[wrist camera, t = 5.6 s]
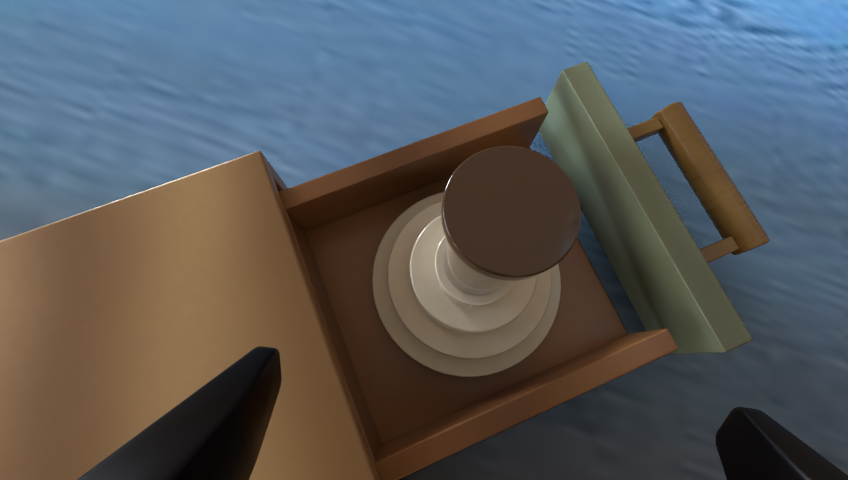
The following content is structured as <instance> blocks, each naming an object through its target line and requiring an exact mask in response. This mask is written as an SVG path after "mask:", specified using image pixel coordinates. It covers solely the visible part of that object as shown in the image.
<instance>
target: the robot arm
mask: <svg viewBox="0 0 848 480" xmlns="http://www.w3.org/2000/svg"><path fill="white" fill-rule="evenodd" d="M281 381H282V375H281V364H280V353H279V351H278V349H276V348H271V347H263V346H258V347H255V348H254V349H252V350H251V351H250V352H248V353H247V354H246V355H244V356H243V357H242V358H240V359H239V360H237V361H236V362H235V363H233V364H232V365H231V366H229V367H228V368H227V369H225V370H224V371H223V372H221V373H220V374H219V375H217V376H216V377H215V378H213V379H212V380H210V381H209V382H208V383H206V384H205V385H204V386H202V387H201V388H200V389H198V390H197V391H196V392H194V393H193V394H192V395H190V396H189V397H188V398H186V399H185V400H184V401H182V402H181V403H179V404H178V405H177V406H175V407H174V408H173V409H171V410H170V411H169V412H167V413H166V414H165V415H163V416H162V417H161V418H159V419H158V420H157V421H155V422H154V423H152V424H151V425H150V426H148V427H147V428H146V429H144V430H143V431H142V432H140V433H139V434H138V435H136V436H135V437H134V438H132V439H131V440H130V441H128V442H127V443H125V444H124V445H123V446H121V447H120V448H119V449H117V450H116V451H115V452H113V453H112V454H111V455H109V456H108V457H107V458H105V459H104V460H103V461H101V462H100V463H98V464H97V465H96V466H94V467H93V468H92V469H90V470H89V471H88V472H86V473H85V474H84V475H82V476H81V477H80V478H78V479H77V480H249V478H250V476H251V474H252V471H253V469H254V466H255V464H256V461H257V458H258V455H259V452H260V449H261V446H262V443H263V440H264V437H265V434H266V431H267V428H268V425H269V421H270V418H271V415H272V412H273V409H274V406H275V403H276V400H277V397H278V394H279V391H280V387H281ZM716 446H717V450H718V453H719V456H720V459H721V462H722V465H723V469H724V472H725V475H726V478H727V480H848V475H846V474H845V473H844V472H842V471H841V470H840V469H838V468H837V467H836V466H834V465H833V464H832V463H830V462H829V461H828V460H826V459H825V458H824V457H822V456H821V455H820V454H818V453H817V452H816V451H814V450H813V449H812V448H810V447H809V446H808V445H806V444H805V443H804V442H802V441H801V440H800V439H798V438H797V437H796V436H794V435H793V434H792V433H790V432H789V431H788V430H786V429H785V428H784V427H782V426H781V425H780V424H778V423H777V422H776V421H774V420H773V419H772V418H770V417H769V416H768V415H766V414H765V413H764V412H762V411H760V410H757V409H752V408H744V407H736V408H734V409H733V410H732V411H731V412H730V414H729V415H728V417H727V418H726V420H725V421H724V422H723V424H722V425H721V427H720V428H719V430H718V431H717V434H716Z"/></svg>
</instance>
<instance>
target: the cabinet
mask: <svg viewBox="0 0 848 480" xmlns="http://www.w3.org/2000/svg"><path fill="white" fill-rule="evenodd" d="M286 189H288V188H287V186H286V185H285V184H284V182H283V181H282V180H281V178H280V177H279V175H278V174H277V173H276V171H275V170H274V169H273V167H272V166H271V165H270V163H269V162H268V161H267V159H266V158H265V156H264V155H263V154H262V152H261V151H256V152H253V153H251V154H248V155H245V156H242V157H239V158H236V159H233V160H231V161H228V162H225V163H222V164H219V165H216V166H213V167H211V168H208V169H205V170H202V171H199V172H196V173H193V174H191V175H188V176H185V177H182V178H179V179H176V180H173V181H171V182H168V183H165V184H162V185H159V186H156V187H153V188H151V189H148V190H145V191H142V192H139V193H136V194H134V195H131V196H128V197H125V198H122V199H119V200H116V201H114V202H111V203H108V204H105V205H102V206H99V207H96V208H94V209H91V210H88V211H85V212H82V213H79V214H76V215H74V216H71V217H68V218H65V219H62V220H59V221H56V222H54V223H51V224H48V225H45V226H42V227H39V228H36V229H34V230H31V231H28V232H25V233H22V234H19V235H16V236H14V237H11V238H8V239H5V240H2V241H0V480H77V479H78V478H80V477H81V476H82V475H84V474H85V473H86V472H88V471H89V470H90V469H92V468H93V467H94V466H96V465H97V464H98V463H100V462H101V461H103V460H104V459H105V458H107V457H108V456H109V455H111V454H112V453H113V452H115V451H116V450H117V449H119V448H120V447H121V446H123V445H124V444H125V443H127V442H128V441H130V440H131V439H132V438H134V437H135V436H136V435H138V434H139V433H140V432H142V431H143V430H144V429H146V428H147V427H148V426H150V425H151V424H152V423H154V422H155V421H157V420H158V419H159V418H161V417H162V416H163V415H165V414H166V413H167V412H169V411H170V410H171V409H173V408H174V407H175V406H177V405H178V404H179V403H181V402H182V401H184V400H185V399H186V398H188V397H189V396H190V395H192V394H193V393H194V392H196V391H197V390H198V389H200V388H201V387H202V386H204V385H205V384H206V383H208V382H209V381H210V380H212V379H213V378H215V377H216V376H217V375H219V374H220V373H221V372H223V371H224V370H225V369H227V368H228V367H229V366H231V365H232V364H233V363H235V362H236V361H237V360H239V359H240V358H242V357H243V356H244V355H246V354H247V353H248V352H250V351H251V350H252V349H254V348H255V347H258V346H263V347H271V348H276V349H278V351H279V353H280V364H281V375H282V381H281V387H280V391H279V394H278V397H277V400H276V403H275V406H274V409H273V412H272V415H271V418H270V421H269V425H268V428H267V431H266V434H265V437H264V440H263V443H262V446H261V449H260V452H259V455H258V458H257V461H256V464H255V466H254V469H253V471H252V474H251V476H250V478H249V480H380V479H379V476H378V473H377V471H376V468H375V465H374V462H373V459H372V456H371V454H370V451H369V448H368V445H367V442H366V439H365V437H364V434H363V431H362V428H361V425H360V422H359V420H358V417H357V414H356V411H355V408H354V405H353V402H352V400H351V397H350V394H349V391H348V388H347V385H346V383H345V380H344V377H343V374H342V371H341V368H340V366H339V363H338V360H337V357H336V354H335V351H334V349H333V346H332V343H331V340H330V337H329V334H328V331H327V329H326V326H325V323H324V320H323V317H322V314H321V312H320V309H319V306H318V303H317V300H316V297H315V295H314V292H313V289H312V286H311V283H310V280H309V278H308V275H307V272H306V269H305V266H304V263H303V260H302V258H301V255H300V252H299V249H298V246H297V243H296V241H295V238H294V235H293V232H292V229H291V226H290V224H289V221H288V218H287V215H286V212H285V209H284V207H283V204H282V201H281V198H280V195H279V192H281V191H283V190H286ZM399 480H401V479H399Z"/></svg>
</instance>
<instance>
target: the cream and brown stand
mask: <svg viewBox="0 0 848 480" xmlns="http://www.w3.org/2000/svg"><path fill="white" fill-rule="evenodd" d="M580 225H581V207H580V202H579V198H578V195H577V192H576V189H575V187H574V185H573V183H572V182H571V180H570V179H569V177H568V176H567V174H566V173H565V172H564V171H563V170H562V169H561V168H560V167H559V166H558V165H557V164H556V163H555V162H553V161H552V160H551V159H549V158H548V157H546V156H544V155H542V154H541V153H539V152H536V151H534V150H531V149H527V148H524V147H518V146H497V147H492V148H488V149H485V150H482V151H480V152H478V153H476V154H474V155H472V156H470V157H469V158H467V159H466V160H465V161H464V162H463V163H461V164H460V165H459V166H458V167H457V169H456V170H455V171H454V172H453V174H452V175H451V177H450V179H449V181H448V183H447V185H446V188H445V191H444V192H442V193H438V194H435V195H432V196H429V197H427V198H425V199H423V200H421V201H419V202H417V203H415V204H414V205H412V206H411V207H409V208H408V209H406V210H405V211H404V212H403V213H402V214H401V215H400V216H398V218H397V219H396V220H395V221H394V222H393V223H392V224H391V226H390V227H389V229H388V230H387V232H386V233H385V235H384V236H383V238H382V240H381V242H380V244H379V247H378V250H377V253H376V256H375V260H374V265H373V272H372V289H373V297H374V302H375V306H376V309H377V312H378V315H379V318H380V320H381V322H382V324H383V326H384V328H385V329H386V331H387V332H388V334H389V335H390V337H391V338H392V340H393V341H394V342H395V343H396V344H397V345H398V346H399V347H400V349H401V350H402V351H404V352H405V353H406V354H407V355H408V356H410V357H411V358H412V359H414V360H415V361H417V362H418V363H420V364H421V365H423V366H425V367H428V368H430V369H432V370H434V371H437V372H440V373H443V374H447V375H452V376H458V377H480V376H487V375H491V374H495V373H499V372H501V371H504V370H506V369H509V368H511V367H513V366H514V365H516V364H518V363H520V362H521V361H523V360H524V359H525V358H527V357H528V356H529V355H530V354H532V353H533V351H534V350H535V349H536V348H537V347H538V346H539V345H540V344H541V343H542V341H543V340H544V339H545V337H546V336H547V334H548V332H549V331H550V329H551V327H552V325H553V323H554V320H555V317H556V315H557V312H558V307H559V303H560V295H561V277H560V270H559V265H558V263H559V262H561V261H562V260H563V259H564V257H565V256H566V255H567V254H568V253H569V251H570V250H571V249H572V247H573V245H574V243H575V241H576V239H577V236H578V234H579V229H580Z"/></svg>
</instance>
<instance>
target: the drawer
mask: <svg viewBox="0 0 848 480" xmlns="http://www.w3.org/2000/svg"><path fill="white" fill-rule="evenodd" d="M538 131H539V132H540V134H541V136H542V138H543V139H544V141H545V143H546V145H547V147H548V149H549V151H550V153H551V154H552V156H553V158H554V160H555V162H556V164H557V165H558V166H559V167H560V168H561V169H562V170H563V171H564V172H565V173H566V174H567V176H568V177H569V179H570V180H571V182H572V183H573V185H574V187H575V189H576V192H577V195H578V198H579V202H580V207H581V210H582V212H583V214H584V216H585V218H586V219H587V221H588V223H589V225H590V227H591V229H592V231H593V232H594V234H595V236H596V238H597V240H598V242H599V244H600V245H601V247H602V249H603V251H604V253H605V255H606V257H607V258H608V260H609V262H610V264H611V266H612V268H613V270H614V271H615V273H616V275H617V277H618V279H619V281H620V283H621V284H622V286H623V288H624V290H625V292H626V294H627V296H628V297H629V299H630V301H631V303H632V305H633V307H634V309H635V310H636V312H637V314H638V316H639V318H640V320H641V322H642V323H643V325H644V327H645V329H646V331H643V332H635V333H627V331H626V329H625V327H624V325H623V323H622V321H621V320H620V318H619V316H618V314H617V312H616V310H615V308H614V306H613V304H612V302H611V301H610V299H609V297H608V295H607V293H606V291H605V289H604V287H603V285H602V283H601V282H600V280H599V278H598V276H597V274H596V272H595V270H594V268H593V266H592V264H591V263H590V261H589V259H588V257H587V255H586V253H585V251H584V249H583V247H582V245H581V244H580V242H579V240H578V238H577V239H576V241H575V243H574V245H573V247H572V249H571V250H570V251H569V253H568V254H567V255H566V256H565V257H564V259H563V260H562V261H561V262H559V263H558V265H559V270H560V277H561V295H560V303H559V307H558V312H557V315H556V317H555V320H554V323H553V325H552V327H551V329H550V331H549V332H548V334H547V336H546V337H545V339H544V340H543V341H542V343H541V344H540V345H539V346H538V347H537V348H536V349H535V350H534V351H533V353H532V354H530V355H529V356H528V357H527V358H525V359H524V360H523V361H521V362H520V363H518V364H516V365H514V366H513V367H511V368H509V369H506V370H504V371H501V372H499V373H495V374H491V375H487V376H480V377H458V376H452V375H447V374H443V373H440V372H437V371H434V370H432V369H430V368H428V367H425V366H423V365H421V364H420V363H418V362H417V361H415V360H414V359H412V358H411V357H410V356H408V355H407V354H406V353H405V352H404V351H402V350H401V349H400V347H399V346H398V345H397V344H396V343H395V342H394V341H393V340H392V338H391V337H390V335H389V334H388V332H387V331H386V329H385V328H384V326H383V324H382V322H381V320H380V318H379V315H378V312H377V309H376V306H375V302H374V297H373V289H372V272H373V265H374V260H375V256H376V253H377V250H378V247H379V244H380V242H381V240H382V238H383V236H384V235H385V233H386V232H387V230H388V229H389V227H390V226H391V224H392V223H393V222H394V221H395V220H396V219H397V218H398V216H400V215H401V214H402V213H403V212H404V211H405V210H406V209H408V208H409V207H411V206H412V205H414V204H415V203H417V202H419V201H421V200H423V199H425V198H427V197H429V196H432V195H435V194H438V193H442V192H444V191H445V188H446V185H447V183H448V181H449V179H450V177H451V175H452V174H453V172H454V171H455V170H456V169H457V167H458V166H459V165H460V164H461V163H463V162H464V161H465V160H466V159H467V158H469V157H470V156H472V155H474V154H476V153H478V152H480V151H482V150H485V149H488V148H492V147H497V146H518V147H524V148H527V149H530V145H531V144H532V142H533V140H534V138H535V136H536V134H537V133H538ZM657 133H658V134H659V136H660V138H661V139H662V141H663V142H664V144H665V146H666V147H667V149H668V151H669V152H670V154H671V155H672V157H673V159H674V160H675V162H676V164H677V165H678V167H679V168H680V170H681V172H682V173H683V175H684V176H685V178H686V180H687V181H688V183H689V185H690V186H691V188H692V189H693V191H694V193H695V194H696V196H697V198H698V199H699V201H700V202H701V204H702V206H703V207H704V209H705V211H706V212H707V214H708V215H709V217H710V219H711V220H712V222H713V224H714V225H715V227H716V228H717V230H718V232H719V233H720V235H721V237H722V238H723V239H722V240H720V241H718V242H715V243H713V244H711V245H709V246H706V247H704V248H702V249H699V248H698V246H697V245H696V243H695V241H694V240H693V238H692V236H691V235H690V233H689V231H688V230H687V228H686V226H685V225H684V223H683V221H682V220H681V218H680V216H679V215H678V213H677V211H676V210H675V208H674V206H673V204H672V203H671V201H670V199H669V198H668V196H667V194H666V193H665V191H664V189H663V188H662V186H661V184H660V183H659V181H658V179H657V178H656V176H655V174H654V173H653V171H652V169H651V168H650V166H649V164H648V163H647V161H646V159H645V158H644V156H643V154H642V153H641V151H640V149H639V148H638V146H637V144H636V143H635V142H637V141H640V140H642V139H645V138H647V137H650V136H652V135H655V134H657ZM279 195H280V198H281V201H282V204H283V207H284V209H285V212H286V215H287V218H288V221H289V224H290V226H291V229H292V232H293V235H294V238H295V241H296V243H297V246H298V249H299V252H300V255H301V258H302V260H303V263H304V266H305V269H306V272H307V275H308V278H309V280H310V283H311V286H312V289H313V292H314V295H315V297H316V300H317V303H318V306H319V309H320V312H321V314H322V317H323V320H324V323H325V326H326V329H327V331H328V334H329V337H330V340H331V343H332V346H333V349H334V351H335V354H336V357H337V360H338V363H339V366H340V368H341V371H342V374H343V377H344V380H345V383H346V385H347V388H348V391H349V394H350V397H351V400H352V402H353V405H354V408H355V411H356V414H357V417H358V420H359V422H360V425H361V428H362V431H363V434H364V437H365V439H366V442H367V445H368V448H369V451H370V454H371V456H372V459H373V462H374V465H375V468H376V471H377V473H378V476H379V479H380V480H399V479H401V478H403V477H405V476H407V475H410V474H412V473H414V472H416V471H418V470H420V469H422V468H425V467H427V466H429V465H431V464H433V463H435V462H437V461H440V460H442V459H444V458H446V457H448V456H450V455H452V454H455V453H457V452H459V451H461V450H463V449H465V448H467V447H470V446H472V445H474V444H476V443H478V442H480V441H483V440H485V439H487V438H489V437H491V436H493V435H495V434H498V433H500V432H502V431H504V430H506V429H508V428H510V427H513V426H515V425H517V424H519V423H521V422H523V421H525V420H528V419H530V418H532V417H534V416H536V415H538V414H540V413H543V412H545V411H547V410H549V409H551V408H553V407H555V406H558V405H560V404H562V403H564V402H566V401H568V400H571V399H573V398H575V397H577V396H579V395H581V394H583V393H586V392H588V391H590V390H592V389H594V388H596V387H598V386H601V385H603V384H605V383H607V382H609V381H611V380H613V379H616V378H618V377H620V376H622V375H624V374H626V373H628V372H631V371H633V370H635V369H637V368H639V367H641V366H644V365H646V364H648V363H650V362H652V361H654V360H656V359H659V358H661V357H663V356H665V355H667V354H686V353H726V352H728V351H730V350H732V349H734V348H737V347H739V346H741V345H743V344H745V343H747V342H749V341H751V340H752V337H751V335H750V333H749V332H748V330H747V328H746V327H745V325H744V323H743V322H742V320H741V318H740V317H739V315H738V313H737V312H736V310H735V308H734V307H733V305H732V303H731V302H730V300H729V298H728V297H727V295H726V293H725V292H724V290H723V288H722V287H721V285H720V283H719V282H718V280H717V278H716V276H715V275H714V273H713V271H712V270H711V268H710V266H709V265H708V263H709V262H711V261H713V260H715V259H718V258H720V257H722V256H724V255H727V254H729V253H732V254H733V255H738V254H741V253H744V252H746V251H749V250H752V249H754V248H757V247H759V246H761V245H764V244H766V243H768V242H769V241H770V239H769V237H768V236H767V234H766V233H765V231H764V230H763V228H762V227H761V225H760V224H759V222H758V220H757V219H756V217H755V216H754V214H753V213H752V211H751V210H750V208H749V206H748V205H747V203H746V202H745V200H744V199H743V197H742V196H741V194H740V192H739V191H738V189H737V188H736V186H735V185H734V183H733V182H732V180H731V178H730V177H729V175H728V174H727V172H726V171H725V169H724V168H723V166H722V165H721V163H720V161H719V160H718V158H717V157H716V155H715V154H714V152H713V151H712V149H711V147H710V146H709V144H708V143H707V141H706V140H705V138H704V137H703V135H702V133H701V132H700V130H699V129H698V127H697V126H696V124H695V123H694V121H693V120H692V118H691V116H690V115H689V113H688V112H687V110H686V109H685V107H684V106H683V104H682V103H681V102H675V103H673V104H670V105H668V106H666V107H664V108H663V109H661V110H660V111H658V112H657V113H656V114H655V115H654V116H653V117H652V118H651V119H650V120H648V121H645V122H643V123H640V124H637V125H635V126H632V127H630V128H627V127H626V126H625V124H624V122H623V121H622V119H621V117H620V116H619V114H618V112H617V111H616V109H615V107H614V106H613V104H612V102H611V101H610V99H609V97H608V96H607V94H606V92H605V91H604V89H603V87H602V86H601V84H600V82H599V81H598V79H597V77H596V76H595V74H594V72H593V71H592V69H591V67H590V65H589V64H588V62H584V63H581V64H578V65H575V66H573V67H570V68H567V69H564V70H562V72H561V74H560V76H559V78H558V80H557V82H556V84H555V86H554V88H553V90H552V92H551V94H550V96H549V97H548V99H547V101H546V103H545V104H544V103H543V101H542V99H541V97H538V98H536V99H533V100H530V101H527V102H525V103H522V104H519V105H516V106H514V107H511V108H508V109H506V110H503V111H500V112H497V113H495V114H492V115H489V116H486V117H484V118H481V119H478V120H475V121H473V122H470V123H467V124H464V125H462V126H459V127H456V128H453V129H451V130H448V131H445V132H442V133H440V134H437V135H434V136H431V137H429V138H426V139H423V140H420V141H418V142H415V143H412V144H409V145H407V146H404V147H401V148H399V149H396V150H393V151H390V152H388V153H385V154H382V155H379V156H377V157H374V158H371V159H368V160H366V161H363V162H360V163H357V164H355V165H352V166H349V167H346V168H344V169H341V170H338V171H335V172H333V173H330V174H327V175H324V176H322V177H319V178H316V179H313V180H311V181H308V182H305V183H302V184H300V185H297V186H294V187H292V188H289V189H286V190H283V191H281V192H279Z"/></svg>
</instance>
